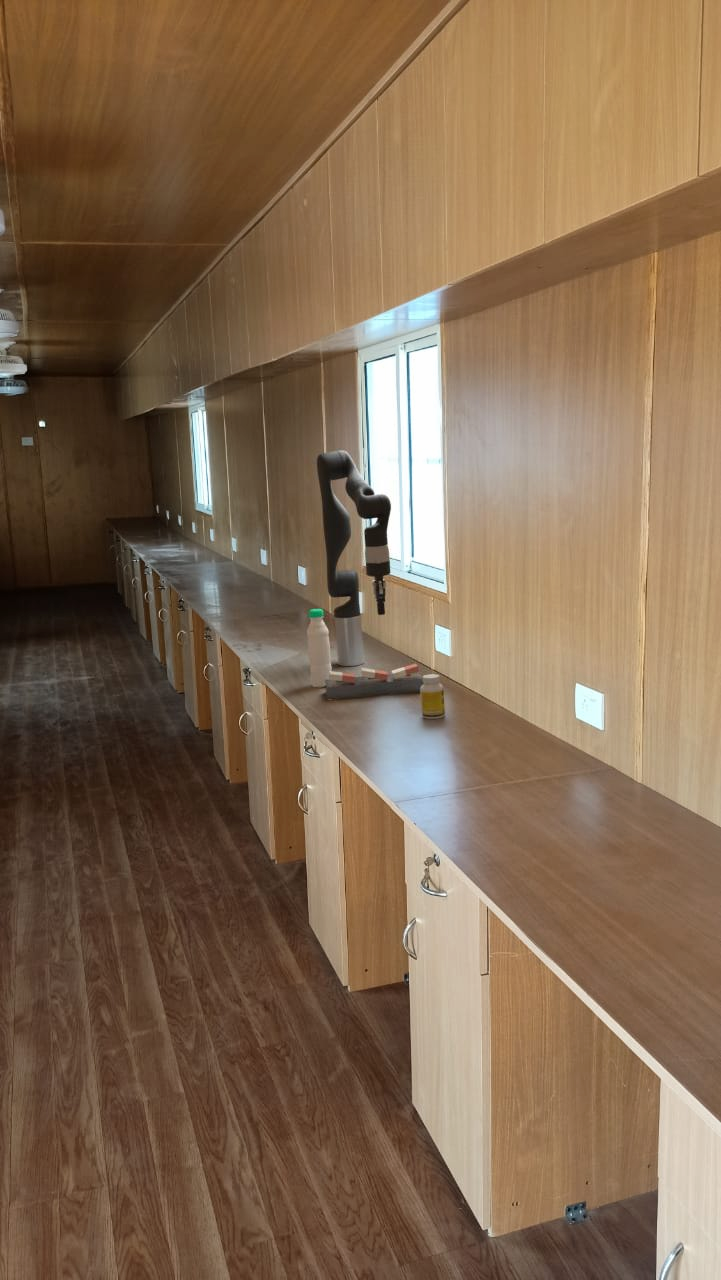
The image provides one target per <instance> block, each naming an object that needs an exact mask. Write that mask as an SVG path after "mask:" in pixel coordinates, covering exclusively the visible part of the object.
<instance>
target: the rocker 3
mask: <svg viewBox="0 0 721 1280" xmlns="http://www.w3.org/2000/svg"><path fill="white" fill-rule="evenodd" d="M419 671H420V669H419V666H418V665H417V663H413V664H409V665H407V666H403V667H399V668H395V669H393V670H391V674H392V675H393V677H394V679H396V678H400V677H403V676H406V675H410V674H413V673H416V672H419Z"/></svg>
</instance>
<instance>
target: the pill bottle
mask: <svg viewBox="0 0 721 1280" xmlns="http://www.w3.org/2000/svg"><path fill="white" fill-rule="evenodd" d="M422 677H423V682H424V684H423V685H422V686H421V688H420V692H419V693H420V704H421V717H423V718H425V719H426V720H436V719H441V718H443V717H445V715H446V708H445V706H446V705H445V695H444V694H445V693H444V692H445V690H444V686H443V685H442V684H441V683H440V680H441V679H440V678H441V677H440V675H439V674H434V673H433V674H432V673H431V674H430V673H429V674H425V675H422Z"/></svg>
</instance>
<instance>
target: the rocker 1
mask: <svg viewBox="0 0 721 1280" xmlns="http://www.w3.org/2000/svg"><path fill="white" fill-rule="evenodd" d="M355 677H356V673H349V672H341V671H333V670H332V671H329V680H336V681H345V682H353V683H355Z"/></svg>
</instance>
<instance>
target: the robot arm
mask: <svg viewBox="0 0 721 1280" xmlns="http://www.w3.org/2000/svg"><path fill="white" fill-rule="evenodd" d="M316 470H317V477H318V484H319V490H320V497H321V498H320V499H321V508H322V509H321V510H322V524H323V525H322V526H323V535H324V545H325V553H326V556H325V557H326V582H327V583H326V584H327V585H326V586H327V591H328V594H329V595H328V596H330V598H334V599H335V598H344V597H345V598H347V597H349V599H348V600H347V601H346V602H345V603H343V604H341V605H339V606H337V607H335V608H334V609H333V615H334V617H333V618H334V629H335V641H336V642H335V643H336V652H337V663H338V664H339V665H338V666H340V665H341V667H353V666H354V667H355V666H360V665H363V664H364V663H365V658H364V657H365V656H364V642H363V632H362V631H363V629H362V617H361V607H360V584H359V583H360V580H359V575H358V572H357V571H356V570H355V569H345V570H337V565H338V563H339V560H340V557H341V556H342V553H343V552H344V550H345V549H346V547H347V545H348V543H349V541H350V539H351V536H352V530H351V529H352V528H351V526H352V525H351V517H350V516H351V515H349V512H348V511H347V509H346V508H345V506H344V505H343V504H342V503H341V501H340V500H339V499H338V498H337V496H336V494H335V493H334V490H333V488H332V487H333V486H332V481H336V480H341V479H342V480H343V479H346V481H345V487H344V488H345V492H346V494H347V496H348V497H349V498H350V499H351V500H352V502H353V503H354V506H355V509H356V512H357V515H358V517H360V518H361V519H363V520H371V519H376V522H375V523H374V524H373V525H369V526H367V527H365V528H364V548H365V549H364V557H365V559H364V560H365V572H366V575H367V576H368V577H374V580H372V586H373V594H374V598H375V602H376V608H377V609H376V610H377V611H376V612H377V614H378V616H384V615H385V614H386V610H385V609H386V608H385V607H386V606H385V602H386V595H387V593H386V592H387V591H386V589H387V588H386V587H387V581H386V579H384V577H385V576H389V575H390V574H391V561H390V549H389V544H388V542H389V541H388V527H389V522H390V521H389V520H390V517H391V516H390V515H391V511H392V502H391V500H390V498H389V497H388V496H387V495H386V494H384V493H381V494H375V491H374V489H373V488H372V487H371V486H370V484H369V483H367V481H366V480H365V479H364V478H363V476H362V475H361V473H360V471H359V469H358V467H357V466H356V464H355V461H354V460H353V458H352V457H351V455H350V454H349V453H348V452H347V451H346V450H333V451H329V452H324V453H320V454H319V455H317V459H316Z"/></svg>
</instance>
